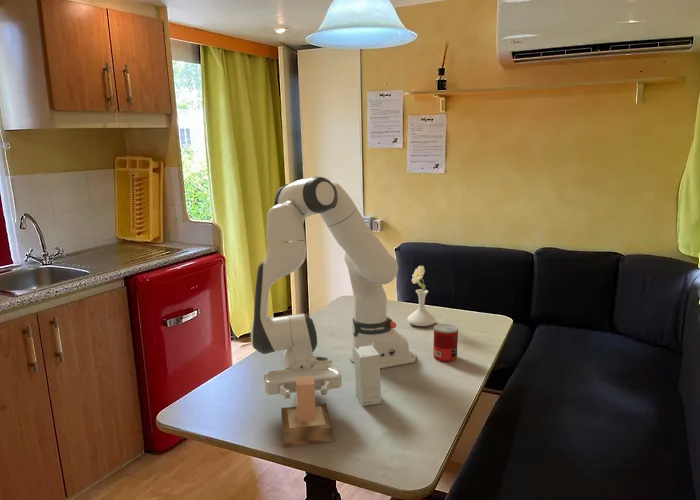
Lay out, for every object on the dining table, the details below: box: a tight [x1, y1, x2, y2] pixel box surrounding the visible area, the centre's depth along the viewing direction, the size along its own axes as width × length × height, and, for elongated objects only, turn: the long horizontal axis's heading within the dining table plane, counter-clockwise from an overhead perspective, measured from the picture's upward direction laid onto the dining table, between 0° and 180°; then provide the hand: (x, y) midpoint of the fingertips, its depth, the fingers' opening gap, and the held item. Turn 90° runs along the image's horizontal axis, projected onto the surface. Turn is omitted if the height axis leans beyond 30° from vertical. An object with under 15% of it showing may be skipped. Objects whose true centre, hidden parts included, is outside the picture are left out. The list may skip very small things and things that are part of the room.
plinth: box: [280, 403, 334, 448], centre depth 136 cm, size 12×12×4 cm
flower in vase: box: [407, 265, 436, 327], centre depth 210 cm, size 13×11×25 cm
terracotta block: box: [295, 376, 316, 422], centre depth 134 cm, size 4×4×10 cm
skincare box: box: [353, 345, 382, 407], centre depth 151 cm, size 8×6×15 cm
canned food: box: [433, 323, 459, 363], centre depth 179 cm, size 8×8×11 cm
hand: (305, 394), depth 134 cm, fingers open, 8 cm apart
